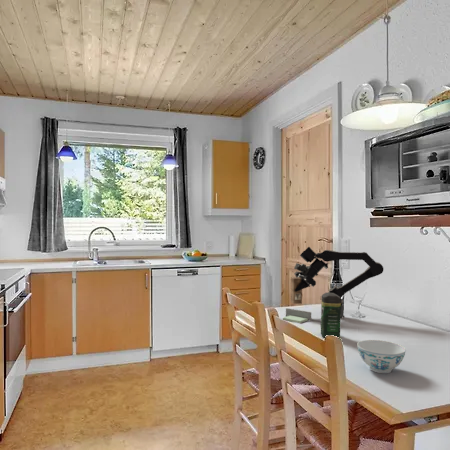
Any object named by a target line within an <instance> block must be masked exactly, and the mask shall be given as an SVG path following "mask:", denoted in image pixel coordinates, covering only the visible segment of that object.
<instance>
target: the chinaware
mask: <svg viewBox="0 0 450 450" xmlns="http://www.w3.org/2000/svg"><path fill="white" fill-rule="evenodd" d="M356 344H357V345H356V346H357V351H358V353H359V356H360V358H361V359H362V361H363V362H364V363H365V364H366V365H367V366H369V370H371V371H372V372H374V373H379V374H390V373H392V370H394V369H395V368H397V367H399V365H400V364H401V363H402V362H403V360H404V358H405V355H406V351H407V350H406V348H405V346H402V345H400V344H398V343H396V342H391V341H386V340H379V339H378V340H377V339H376V340H375V339H367V340H366V339H365V340H361V341H358V342H357V343H356Z"/></svg>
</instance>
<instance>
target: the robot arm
mask: <svg viewBox="0 0 450 450" xmlns="http://www.w3.org/2000/svg"><path fill="white" fill-rule="evenodd" d="M299 256H300V257H301V258H302V260H304V261H305V262H306V263H310V265H306V264H304V263H301V264H300V263H295V265H294V268H293V269H294V270H297V271H295V272H294V277H300V278H301V282H300V283H299V285H298V286H297V287H296V289H295V291H296V292H297V291H299V290H302V291H303V290H304V289H306V288H309V287H313V288H314V287H315V286H316V285H317V281H316V280H315V279H314V278H315V277H318V275H319V272H321V270H322V269H324V268H325V269H328V268H329V263H328V262H334V261H339V260H346V261H348V260H349V261H350V260H351V261H352V260H353V261H356V260H357V261H363V262H365V264H366V265H367V266H368V267H367V268H366V269H365V270H364V271H363V272H362V273H360V274H358V275H357V276H355V277H354V278H352V279H351V280H349V281H347V282H346V283H344V284H342V285H341V286H337V285H335V286H333V287H332V288H331V289H329V290H328V292H327V293H335V294H336V295H338V296H339V297H340V298H341V319H343V318H345V317H346V316H345V315H344V307H345V305H343V301H344V300H343V299H342V298H343V296H344V295H346V293H348V292H350V291H351V290H353V289H354V288H356V287H358V286H359V285H360V284H362V283H364V282H365V281H367V280H369V279H371V278H375V277H376V276H379V275H382V274H383V272H384V266H383V264H382V263H380V262H377V261H376V260H374V259H373V258H372V257H371V255H369V254H368V253H367V252H365V251H363V252H354V251H353V252H350V251H349V252H348V251H347V252H345V251H344V252H343V251H336V250H330V249H326V250H323V251H322V252H317V253H316V252H315V251H314V250H313V249H312V248H311V247H310V246H308V247H307V248H306V249H305V250H303V251H302V252H301V253H300V255H299ZM326 262H327V263H326ZM342 317H343V318H342Z"/></svg>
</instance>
